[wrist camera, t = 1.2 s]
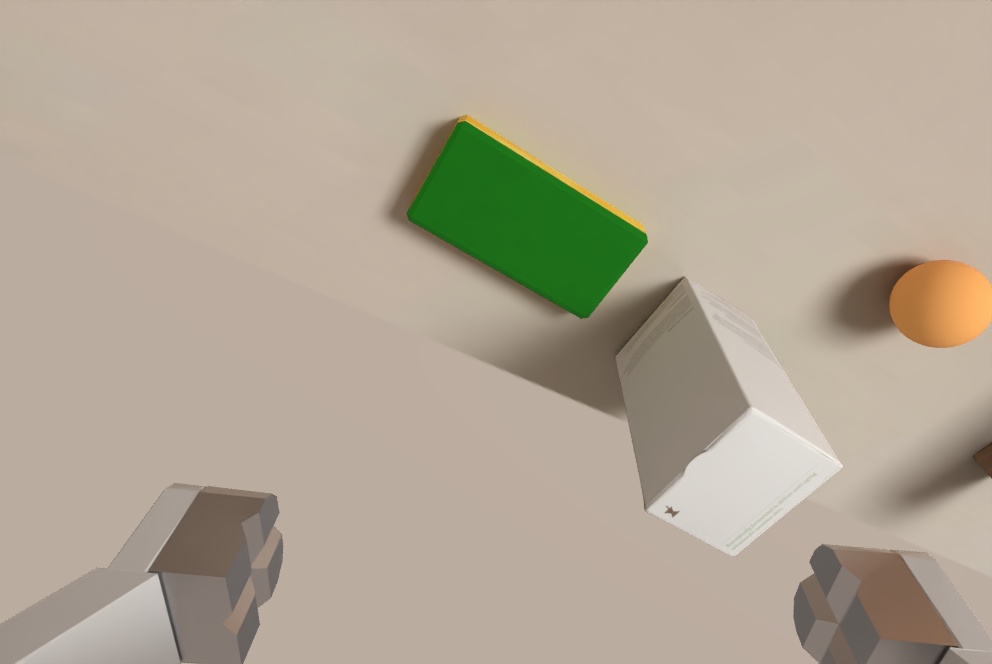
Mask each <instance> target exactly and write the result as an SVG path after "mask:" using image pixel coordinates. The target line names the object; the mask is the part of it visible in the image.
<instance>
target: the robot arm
mask: <svg viewBox="0 0 992 664" xmlns="http://www.w3.org/2000/svg"><path fill="white" fill-rule="evenodd" d="M278 514H279V508H278V501H277V496H275V495H273V494H270V493H262V492H253V491H244V490H236V489H228V488H219V487H211V486H207V487H205V486H196V485H188V484H179V483H174V484H172V485H171V486H169V487H167V488H166V489H165V490H164V491H163V492H162V494H161V495H160V496H159V498H158V499H157V501H156V502H155V503H154V505H153V506H152V507H151V509H150V510H149V512H148V513H147V514H146V516H145V517H144V519H143V520H142V521H141V523H140V524H139V525H138V527H137V528H136V530H135V531H134V533H133V534H132V535H131V537H130V538H129V540H128V541H127V542H126V543H125V545H124V546H123V548H122V549H121V551H120V552H119V553H118V555H117V556H116V557H115V559H114V560H113V562H112V563H111V565H110V566H109V567H108V568H107V569H106V568H96V569H94V570H92V571H91V572H89V573H87V574H85V575H84V576H82V577H80V578H78V579H77V580H75V581H73V582H72V583H70V584H68V585H67V586H65V587H63V588H61V589H60V590H58V591H56V592H55V593H53V594H51V595H50V596H47V597H46V598H44V599H42V600H41V601H39V602H37V603H35V604H34V605H32V606H30V607H28V608H27V609H25V610H23V611H22V612H20V613H18V614H16V615H15V616H13V617H12V618H10V619H8V620H6V621H4V622H3V623H1V624H0V664H181V663H196V664H243V662H244V660H245V658H246V656H247V653H248V651H249V648H250V646H251V644H252V641H253V639H254V637H255V635H256V632H257V630H258V628H259V625H260V623H259V616H258V609H257V608H258V607H260V606H261V605H262V604H263V603H265V602H266V601H268V600H269V599H270V598H271V597H272V594H273V592H274V589H275V587H276V584H277V581H278V578H279V573H280V569H281V565H282V558H283V556H282V555H283V540H282V534H281V533H280V532H279V531H278V530H277V529H276V528H275V527H274V523H275V521H276V519H277V517H278ZM810 564H811V566H812V569H813V571H814V574H813V575H811V576H810V577H808V578H806V579H805V580H803V581H802V582H800V584H799V587H798V590H797V592H796V595H795V597H794V622H795V627H796V631H797V634H798V637H799V639H800V642H801V645H802V647H803V648H804V649H805V650H806V651H807V652H808V653H809V654H810V655H811V656H812V657H813V658H815V660H816V661H818V662H819V664H992V640H991V638H990V636H989V635H988V634H987V632H986V631H985V629H984V628H983V626H982V625H981V624H980V622H979V621H978V619H977V618H976V616H975V615H974V614H973V612H972V611H971V609H970V608H969V606H968V605H967V604H966V602H965V601H964V600H963V598H962V596H961V595H960V594H959V592H958V591H957V589H956V588H955V587H954V585H953V584H952V582H951V581H950V580H949V578H948V576H947V575H946V574H945V572H944V571H943V569H942V568H941V566H940V565H939V564H938V562H937V561H936V560H935V559H934V558H933V557H932V556H930V555H929V554H927V553H925V552H913V551H912V552H911V551H899V550H885V549H876V548H864V547H851V546H839V545H826V544H822V545H821V546H819V547H818V548H817V549H816V550H815V551H814V553H813V555H812V557H811V559H810Z"/></svg>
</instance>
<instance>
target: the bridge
mask: <svg viewBox="0 0 992 664" xmlns="http://www.w3.org/2000/svg"><path fill="white" fill-rule="evenodd" d="M973 457H974V458H975V459H976V461H977V462H978V463H979V464H980V465H981V466H982V468H983V469H984V470H985V471H986V472H987V473H988V475H989V476H990V477H991V478H992V444H990V445H989V446H987V447H986V448H984V449H983V450H981V451H980V452H979V453H977V454H976V455H974V456H973Z"/></svg>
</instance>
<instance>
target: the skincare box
mask: <svg viewBox="0 0 992 664" xmlns="http://www.w3.org/2000/svg"><path fill="white" fill-rule="evenodd" d="M615 359H616V365H617V370H618V375H619V379H620V384H621V388H622V393H623V398H624V403H625V408H626V413H627V418H628V423H629V428H630V433H631V438H632V443H633V448H634V453H635V457H636V463H637V467H638V472H639V477H640V482H641V488H642V493H643V499H644V510H645V511H646V512H648V513H650V514H652V515H654V516H656V517H658V518H660V519H662V520H664V521H666V522H667V523H669V524H671V525H673V526H675V527H677V528H679V529H681V530H683V531H685V532H687V533H689V534H691V535H693V536H695V537H696V538H698V539H700V540H702V541H704V542H706V543H707V544H709V545H711V546H713V547H715V548H717V549H719V550H720V551H722V552H724V553H727V554H728V555H730V556H732V557H734V556H735V555H737V554H738V553H739V552H740V551H741V550H743V549H744V548H745V547H746V546H747V545H748V544H750V543H751V542H752V541H753V540H755V539H756V538H757V537H758V536H759V535H760V534H762V533H763V532H764V531H765V530H767V529H768V528H769V527H770V526H771V525H773V524H774V523H775V522H776V521H777V520H779V519H780V518H781V517H782V516H784V515H785V514H786V513H787V512H788V511H790V510H791V509H792V508H793V507H795V506H796V505H797V504H798V503H799V502H801V501H802V500H803V499H804V498H806V497H807V496H808V495H809V494H810V493H812V492H813V491H814V490H815V489H817V488H818V487H819V486H820V485H822V484H823V483H824V482H825V481H826V480H828V479H829V478H830V477H831V476H833V475H834V474H835V473H836V472H838V471H839V470H840V469H841V468H842V467H843V466H842V464H841V463H840V462H839V460H838V458H837V456H836V455H835V453H834V451H833V450H832V448H831V447H830V445H829V444H828V442H827V440H826V439H825V437H824V435H823V434H822V432H821V431H820V429H819V427H818V426H817V424H816V423H815V421H814V419H813V418H812V416H811V414H810V413H809V411H808V409H807V408H806V406H805V405H804V403H803V401H802V400H801V398H800V396H799V395H798V393H797V392H796V390H795V388H794V387H793V385H792V383H791V382H790V380H789V378H788V377H787V375H786V374H785V372H784V370H783V369H782V367H781V365H780V364H779V362H778V360H777V359H776V357H775V356H774V354H773V352H772V351H771V349H770V347H769V346H768V344H767V343H766V341H765V339H764V338H763V336H762V335H761V333H760V331H759V330H758V328H757V326H756V324H755V323H754V321H753V320H752V319H751V318H749V317H748V316H746V315H745V314H743V313H742V312H740V311H739V310H737V309H736V308H734V307H733V306H731V305H729V304H728V303H726V302H725V301H723V300H722V299H720V298H719V297H717V296H716V295H714V294H712V293H711V292H709V291H708V290H706V289H705V288H703V287H701V286H700V285H698V284H697V283H695V282H693V281H692V280H690V279H689V278H688V277H684V278H683V279H682V280H681V282H680V283H679V284H678V285H677V286H676V287H675V288H674V290H673V291H672V292H671V293H670V294H669V295H668V296H667V298H666V299H665V300H664V301H663V302H662V303H661V304H660V305H659V307H658V308H657V309H656V310H655V311H654V312H653V314H652V315H651V316H650V317H649V318H648V319H647V320H646V322H645V323H644V324H643V325H642V326H641V327H640V328H639V330H638V331H637V332H636V333H635V334H634V335H633V337H632V338H631V339H630V340H629V341H628V342H627V343H626V345H625V346H624V347H623V348H622V349H621V350H620V352H619V353H618V354H617V355H616V357H615Z"/></svg>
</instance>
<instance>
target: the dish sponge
mask: <svg viewBox="0 0 992 664" xmlns="http://www.w3.org/2000/svg"><path fill="white" fill-rule="evenodd" d="M407 215H408V218H409V221H411V222H413V223H415V224H416V225H418V226H420V227H422V228H423V229H425V230H427V231H429V232H430V233H432V234H434V235H436V236H437V237H439V238H441V239H443V240H444V241H446V242H448V243H450V244H451V245H453V246H455V247H457V248H458V249H460V250H462V251H464V252H465V253H467V254H469V255H471V256H472V257H474V258H476V259H478V260H479V261H481V262H483V263H485V264H486V265H488V266H490V267H492V268H493V269H495V270H497V271H499V272H500V273H502V274H504V275H506V276H507V277H509V278H511V279H513V280H514V281H516V282H518V283H520V284H521V285H523V286H525V287H527V288H528V289H530V290H532V291H534V292H535V293H537V294H539V295H541V296H542V297H544V298H546V299H548V300H549V301H551V302H553V303H555V304H556V305H558V306H560V307H562V308H563V309H565V310H567V311H569V312H571V313H572V314H574V315H576V316H578V317H579V318H581V319H582V318H588V317H589V316H590V315H591V313H592V312H593V311H594V310H595V308H596V307H597V306H598V305H599V303H600V302H601V301H602V300H603V298H604V297H605V296H606V295H607V293H608V292H609V291H610V290H611V288H612V287H613V286H614V284H615V283H616V282H617V281H618V279H619V278H620V277H621V276H622V274H623V273H624V272H625V271H626V269H627V268H628V267H629V266H630V264H631V263H632V262H633V261H634V259H635V258H636V257H637V256H638V254H639V253H640V252H641V251H642V249H643V248H644V247H645V245H646V244H647V243H648V240H647V235H646V233H645V230H644V227H643V225H642V224H640V223H639V222H637V221H636V220H634V219H632V218H631V217H629V216H628V215H626V214H624V213H623V212H621V211H620V210H618V209H616V208H615V207H613V206H612V205H610V204H608V203H607V202H605V201H604V200H602V199H600V198H599V197H597V196H596V195H594V194H592V193H591V192H589V191H588V190H586V189H584V188H583V187H581V186H580V185H578V184H577V183H575V182H573V181H572V180H570V179H569V178H567V177H565V176H564V175H562V174H561V173H559V172H557V171H556V170H554V169H553V168H551V167H549V166H548V165H546V164H545V163H543V162H541V161H540V160H538V159H537V158H535V157H533V156H532V155H530V154H529V153H527V152H526V151H524V150H522V149H521V148H519V147H518V146H516V145H514V144H513V143H511V142H510V141H508V140H506V139H505V138H503V137H502V136H500V135H498V134H497V133H495V132H494V131H492V130H490V129H489V128H487V127H486V126H484V125H482V124H481V123H479V122H478V121H476V120H475V119H473V118H471V117H470V116H468V115H466V116H462V117H460V118H459V119H458V121H457V123H456V125H455V127H454V128H453V130H452V132H451V134H450V136H449V137H448V139H447V141H446V143H445V145H444V146H443V148H442V150H441V152H440V153H439V155H438V157H437V159H436V161H435V162H434V164H433V166H432V168H431V170H430V171H429V173H428V175H427V177H426V179H425V180H424V182H423V184H422V186H421V187H420V189H419V191H418V193H417V195H416V196H415V198H414V200H413V202H412V204H411V206H410V208H409V210H408V212H407Z"/></svg>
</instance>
